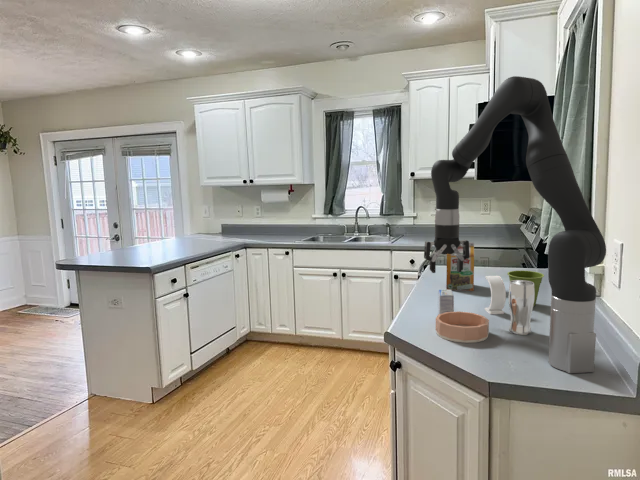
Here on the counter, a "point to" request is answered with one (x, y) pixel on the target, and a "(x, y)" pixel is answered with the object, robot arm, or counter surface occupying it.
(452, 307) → the medicine box
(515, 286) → the beer glass
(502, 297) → the headphone stand
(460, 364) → the counter surface
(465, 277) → the milk carton
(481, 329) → the bowl
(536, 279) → the plant pot
